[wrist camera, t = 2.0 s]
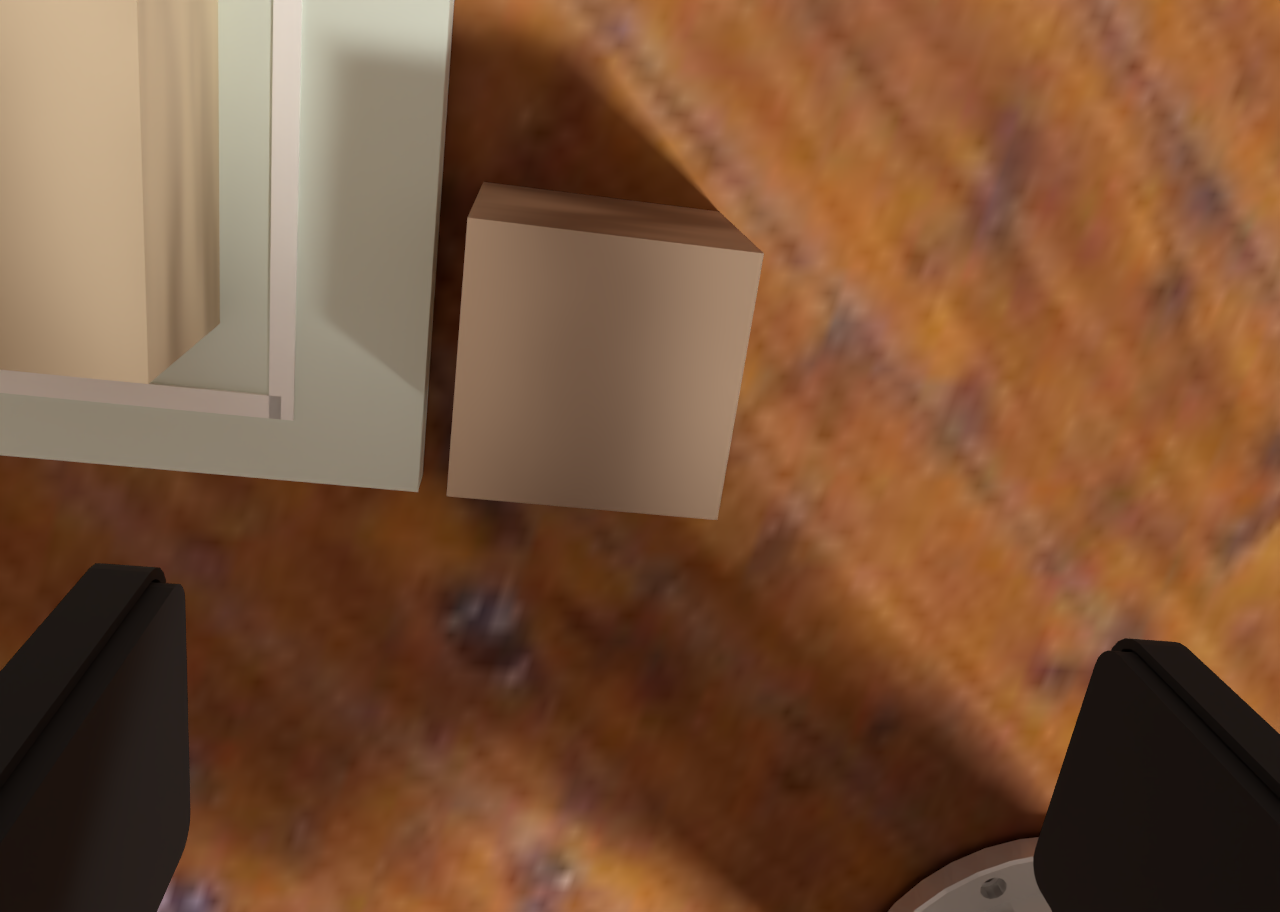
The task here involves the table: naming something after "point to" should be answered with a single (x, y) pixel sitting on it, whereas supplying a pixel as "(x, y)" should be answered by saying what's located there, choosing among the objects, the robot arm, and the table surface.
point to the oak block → (108, 185)
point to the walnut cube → (599, 352)
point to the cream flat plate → (294, 265)
